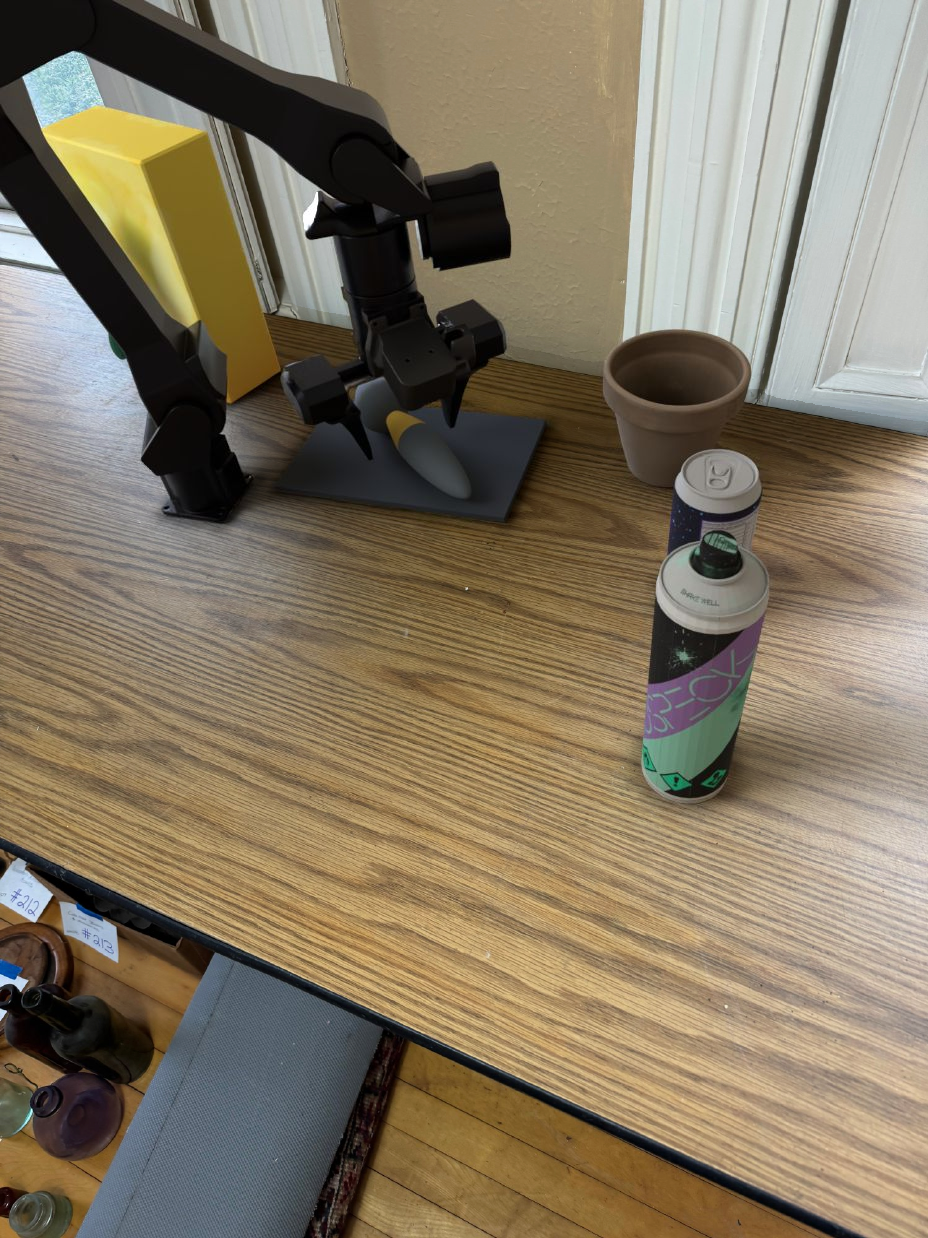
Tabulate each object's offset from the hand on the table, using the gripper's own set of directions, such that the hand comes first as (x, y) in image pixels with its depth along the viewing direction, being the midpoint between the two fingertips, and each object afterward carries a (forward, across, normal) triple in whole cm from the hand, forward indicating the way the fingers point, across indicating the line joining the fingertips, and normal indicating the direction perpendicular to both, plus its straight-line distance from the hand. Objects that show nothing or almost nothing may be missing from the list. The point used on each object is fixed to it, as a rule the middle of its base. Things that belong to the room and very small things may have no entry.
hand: (410, 441), depth 78 cm
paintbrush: (+1, 0, 0) cm, 1 cm away
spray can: (+2, +1, -40) cm, 40 cm away
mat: (+2, 0, 0) cm, 2 cm away
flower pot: (+2, +18, -14) cm, 23 cm away
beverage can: (+2, +11, -28) cm, 31 cm away
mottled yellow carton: (+2, -15, +28) cm, 31 cm away
